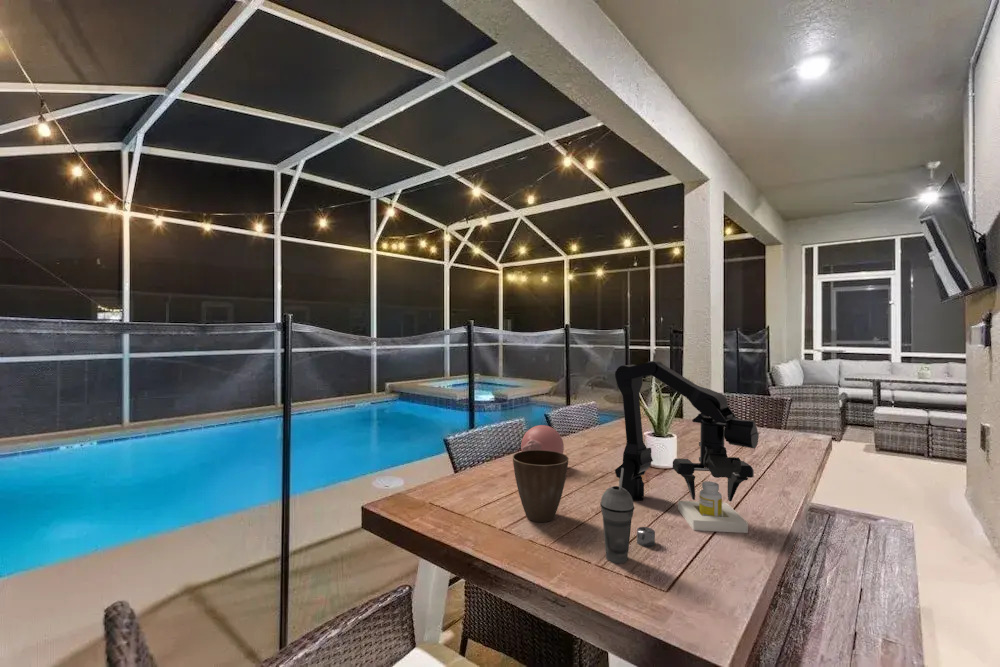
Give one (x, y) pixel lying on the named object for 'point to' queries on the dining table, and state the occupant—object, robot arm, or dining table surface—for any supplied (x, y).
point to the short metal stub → (646, 537)
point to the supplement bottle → (710, 500)
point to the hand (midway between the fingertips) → (711, 500)
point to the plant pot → (540, 482)
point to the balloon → (542, 439)
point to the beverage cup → (617, 521)
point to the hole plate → (712, 518)
